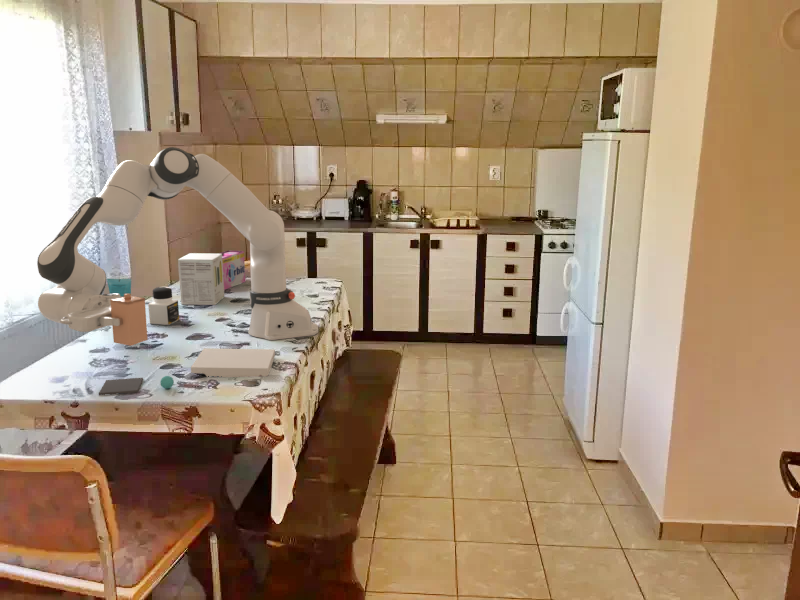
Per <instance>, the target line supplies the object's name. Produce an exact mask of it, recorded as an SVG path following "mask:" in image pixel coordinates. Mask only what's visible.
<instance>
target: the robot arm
mask: <svg viewBox="0 0 800 600" xmlns="http://www.w3.org/2000/svg"><path fill="white" fill-rule="evenodd" d="M185 187H187V188H191V189H193V190H195V191H196V192H199V194H200V195H201V196H202V197H203V198H204V199H206V201H207V202H209V203H210V204H211V205H212V206H213V207H214V208H215V209H217V211H218V212H220V213H221V214H222V215H223V216H224V217H225V218H226V219H227V220H228V221H229V222H230V223H231V225H233V226H234V227H235V229H236V230H237V231H238V232H239V233H241V235H243V237H244V238H245V239H247V241H248V242H249V255H250V256H249V258H250V259H249V261H250V263H249V265H250V266H249V267H250V286H251V288H250V290H249V291H250V292H249V303H250V308H251V314H250V315H251V316H250V323H249V326H248V327H249V328H248V332H247V333H248V335H250V336H252V337H256V338H260V339H265V340H267V341H275V340H284V339H290V338H292V339H294V338H301V337H309V336H315V335H316V334H319V326H318V324H317V323H316V322H313V321H312V317H311V314H310V312H309V310H308V309H307V308H306V307H304V306H303V305H302V304H300V303H298V301H295V300H294V299H295V297H296V295H295V292H294V291H293V290H291V288H287V270H286V269H287V267H286V244H285V243H286V242H285V241H286V240H285V237H286V236H285V222H284V220H283V218H282V216H280V214H279V213H277V212H276V211H274V210H271V209H268V208H267V207H266V206H265V205H264V204H263V203H262V201H260V200H259V198H257V197H256V195H255V194H254V193H253V192H252V191H251V189H249V188H248V187H247V186H246V185H245V184H244V183H243V182H242V181H241V180H239V179H238V177H236V176H235V175H234V174H233V173H232V172H231V171H230V170H228V168H226V167H225V166H224V165H222V164H221V163H220V162H219V161H218V160H216V159H214V158H212V157H211V156H209V155H207V154H205V153H198V154H196V155H194V154H193V153H190V152H187V151H185V150H183V149H182V148H178V147H175V146H174V147H173V146H172V147H166V148H164V149H162V150H161V151H159V152H158V153H157V154H156V156H155V157H154V158H153V159H152V161H151V162H150V164H144V163H141V162H139V161H137V160H134V159H133V160H131V159H128V160H124V161H122V162H121V163H120V164H118V165H117V167H116V168H115V170H114V171H113V172H112V174H111V175H110V177H109V178H108V179H107V181H106V184H104V186H103V189H102V190H101V192H100V193H99V194H98V195H96V196H95V195H94V196H90V197H88V198H87V199H85V200H84V201H83V202H82V203H81V204H80V205H79V207H78V208H76V210H75V211H74V213H73V214H72V215H71V217H70V218H69V219H68V220H67V221H66V223H65V224H64V225H63V227H62V228H61V230H60V231H59V232H58V234H57V235H56V236H55V237H54V239H53V240H52V241H51V242H50V243H48V245H46V246H45V247H44V248H43V249H42V250H41V251H40V253H39V255H38V257H37V261H36V263H37V265H36V266H37V270H38V273H39V275H40V277H41V278H43V279H45V280H47V281H49V282H51V283H54V284H56V286H55V287H52V288H50V289H47V290H44V291H43V292H42V293H41V294H40V295H39V297H38V301H37V306H38V310H39V312H40V313H41V315H42V316H43V317H44V318H45V319H46V320H47V319H48V320H49V321H52V322H54V323H58V324H62V325H66V326H68V328H69V329H71V330H73V331H78V332H81V333H88V332H92V331H95V330H98V329H102V328H105V327H108V326H109V327H110V326H113V325H114V326H119V325H122V324H123V322H122V321H123V319H122V318H119V317H116V318H112V314H111V302H110V300H112V299H116V298H119V297H120V294H116V293H113V294H110V293H105V294H103V293H104V290H105V288H106V285H107V274H106V272H105V270H104V269H103V268H101V267H100V266H99V265H98V264H96V263H94V262H93V261H91V260H89V259H88V258H86V257H85V256H84V255H82V254H81V253H79V249H78V246H79V245H80V243H81V242H82V240H83V239H84V238H85V236H86V235H87V234H88V232H89V231H90V230H91V228H92V227H93V226H94V225H96V224H97V223H101V224H106V225H110V226H117V227H118V226H119V227H120V226H126V225H129V224H131V223H133V222H134V221H135V220H136V219H137V217H138V216H139V214H140V212H141V210H142V208H143V206H144V204H145V202H146V199H147V197H152V198H156V199H158V200H161V201H162V200H163V201H164V200H165V201H166V200H170V199H174V198H175V197H177V196H178V195H179V194H180V193H181V191H183V189H184V188H185ZM145 310H146V308H145Z"/></svg>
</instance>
